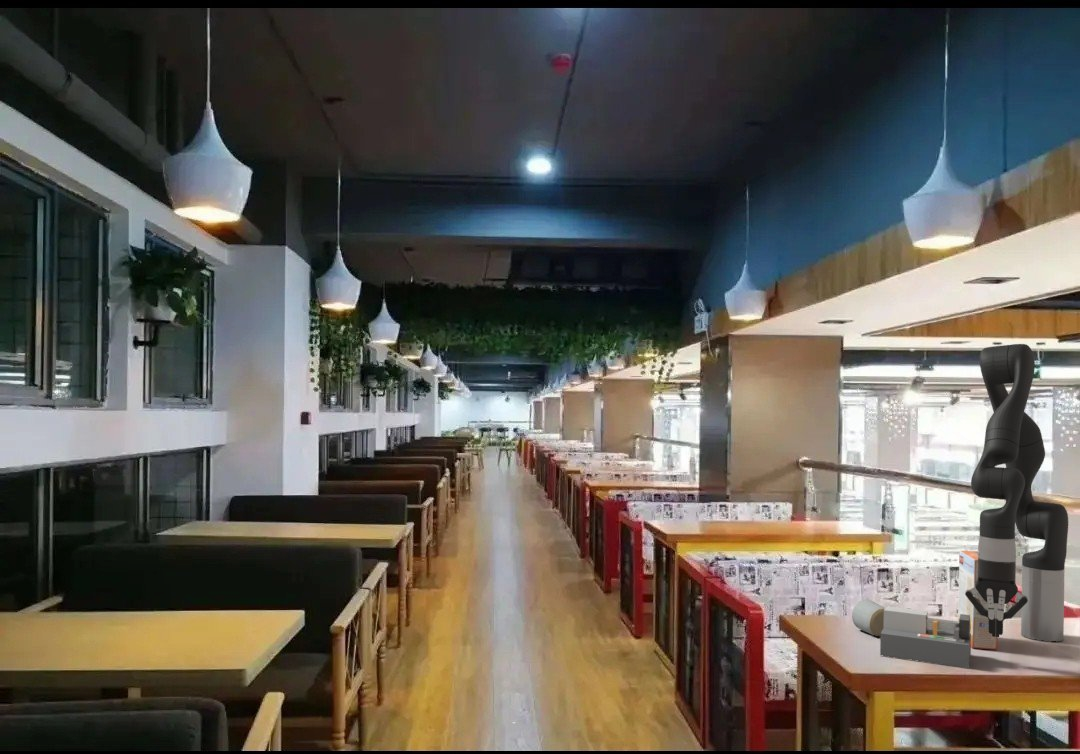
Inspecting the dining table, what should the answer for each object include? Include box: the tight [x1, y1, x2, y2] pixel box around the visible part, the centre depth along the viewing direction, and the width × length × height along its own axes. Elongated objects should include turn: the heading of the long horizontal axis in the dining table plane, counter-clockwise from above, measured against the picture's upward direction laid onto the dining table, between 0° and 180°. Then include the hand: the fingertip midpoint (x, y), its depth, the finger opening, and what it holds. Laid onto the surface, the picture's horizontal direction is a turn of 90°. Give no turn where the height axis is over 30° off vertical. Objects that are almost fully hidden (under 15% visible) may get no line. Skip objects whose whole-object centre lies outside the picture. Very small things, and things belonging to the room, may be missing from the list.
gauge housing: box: [879, 605, 972, 669], centre depth 208 cm, size 12×18×9 cm, turn 63°
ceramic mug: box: [851, 598, 886, 637], centre depth 227 cm, size 11×8×8 cm
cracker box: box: [957, 550, 999, 651], centre depth 221 cm, size 14×6×21 cm, turn 168°
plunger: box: [926, 614, 970, 640], centre depth 207 cm, size 9×11×4 cm
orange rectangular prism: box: [933, 621, 937, 636], centre depth 204 cm, size 1×1×3 cm
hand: (995, 636), depth 203 cm, fingers closed
